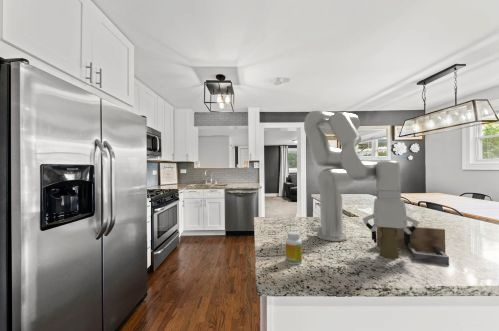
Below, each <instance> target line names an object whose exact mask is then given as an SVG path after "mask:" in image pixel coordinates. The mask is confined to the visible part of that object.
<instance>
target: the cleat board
mask: <svg viewBox="0 0 499 331" xmlns="http://www.w3.org/2000/svg"><path fill="white" fill-rule="evenodd" d="M410 226H411V225H407V228H409V227H410ZM380 228H381V227H378V228H377V229H376V238H377V243H376V247H379V248H380V246H381V238H382V233H381V231H380ZM404 232H405V230H404V229H397V234H396V235H395V237H396V243H397V249H398V250H404V251H408V254H409V255H410V256H411V258H412V260H413V261H416V262H422V263H432V264H438V265H439V264H440V265H447V266H449V265H450V257H449V255H447V254H446V229H445V228H440V227H429V226H428V227H427V226H417V227H416V229H415V230H414V231H413V232H412V233H411V234H410V243H408V246H406V245H405V244H404Z"/></svg>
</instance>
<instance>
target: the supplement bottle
mask: <svg viewBox="0 0 499 331" xmlns="http://www.w3.org/2000/svg"><path fill="white" fill-rule="evenodd" d="M285 262H286V263H287V264H289V265H295V266H296V265H300V264H302V262H303V243H302V240H301V239H300V232H298V231H289V232H287V238H286V239H285Z"/></svg>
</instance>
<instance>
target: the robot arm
mask: <svg viewBox="0 0 499 331" xmlns="http://www.w3.org/2000/svg"><path fill="white" fill-rule="evenodd" d="M303 122H304V124H303V128H304V133H305V136H306V138H307V140H308V143H309V144H310V149H311V153H312V155H313V158H314V162H315V163H316V165H317V166H318V167H321V168H324V169H322V170H321V171H320V172H319V173H318V175H317V185H318V189H319V200H320V202H319V204H320V225H319V226H311V227H310V231H312V232H314V233H315V232H317V234H316V237H317V238H319V239H321V240H324V241H328V242H342V241H346V240H347V235H346V234H344V233H343V198H342V194H341V192H340V189H341V190H342V189H348V188H350V187H351V186H353V184H354V181H356V182H375V183H376V190H375V191H372V192H371V194H372V196H374V197H376V198H374V203H373V213H371V214H369V215H368V216H365V217H363V218H362V220H363V223H364V224H365V226H366V227H367V228H368V229H369V230H370V231H371V240H373V242H374V244H377V228H378V227H381V228H396V229H404V230H405V232H404V244H405V245H406V246H408V243H410V234H411V233H412V232H413V231H414V230H415V229H416V227H419V226H418V225H419V223H420V221H418V220H417V219H414V218H412V217H410V216H408V215H407V210H406V209H407V208H406V204H405V200H404V199H402V193H401V192H402V191H401V189H402V188H401V165H400V163H399V162H398V161H396V160H382V161H361V159H360V158H359V156H358V154H357V151H356V147H357V146H358V145H359V144H360V143H361V142H362V135H361V134H360V133H359V131H358V129H359V128H360V125H361V121H360V119H359V117H358V115H356V114H355V113H351V112H350V113H349V112H344V111H337V112H330V111H326V110H317V109H316V110H312V111H310V112H309V113H307V114H306V116H305V117H304V121H303ZM322 130H330V131H332V133H333V134H334V136H335V137H336V139H337V141H338V143H339V145H340V148H339V147H331V145H330V143H329V139H328V137H327V136H326V134H325V132H323V131H322ZM372 219H373V225H371V223H370V222H369V221H370V220H372ZM408 221H409V222H411V223H412V224H411V225H409V226H410V227H409V228H407V226H408Z"/></svg>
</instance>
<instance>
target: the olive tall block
mask: <svg viewBox="0 0 499 331" xmlns="http://www.w3.org/2000/svg"><path fill="white" fill-rule="evenodd" d="M380 231H381V233H382V238H381V246H380V247H379V254H378V255H379V256H380V257H382V258H384V259H388V260H398V259H399V258H400V257H399V256H400V255H399V249H397V243H396V237H395V235H396V234H397V229H396V228H380Z"/></svg>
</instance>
